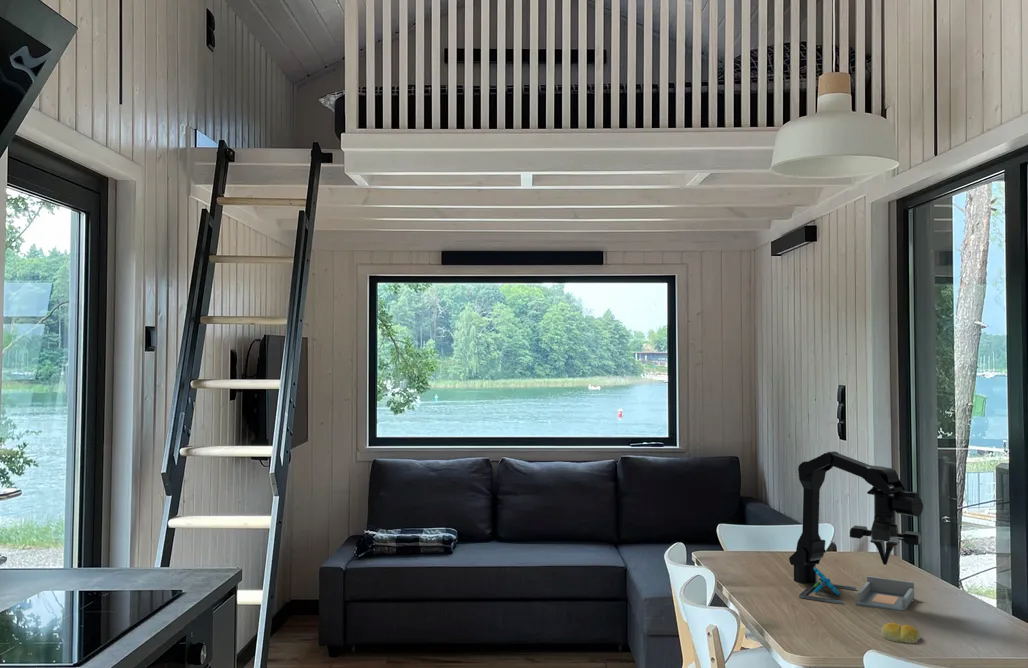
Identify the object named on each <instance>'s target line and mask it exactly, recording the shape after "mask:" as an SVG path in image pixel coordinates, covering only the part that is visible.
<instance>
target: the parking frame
mask: <svg viewBox="0 0 1028 668" xmlns="http://www.w3.org/2000/svg"><path fill="white" fill-rule="evenodd" d="M816 583H817V581H815V582H813V583H812V584H811V583H810V584H809V586H808V587H807V588H805V589H804V590H803V591H802V592H801V593H799V595H798V598H799V599H805V600H812V601H818V602H822V603H823V602H825V603H831V604H839V605H844V602H845V601H844V600H839V599H832V598H828V597H827V598H825V597H821V596H812V595H808V594H809V593H810V592H812V591H813V590H814V589H815V587H814V585H815V584H816ZM832 584H833V586H834V587H835V588H836V589H837V588H838V589H843V590H849V591H857V586H850V585H844V584H843V585H842V584H836V583H832ZM819 585H821V583H820V584H819ZM819 585H818V586H819ZM826 587H828V585H827V586H826Z"/></svg>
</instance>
